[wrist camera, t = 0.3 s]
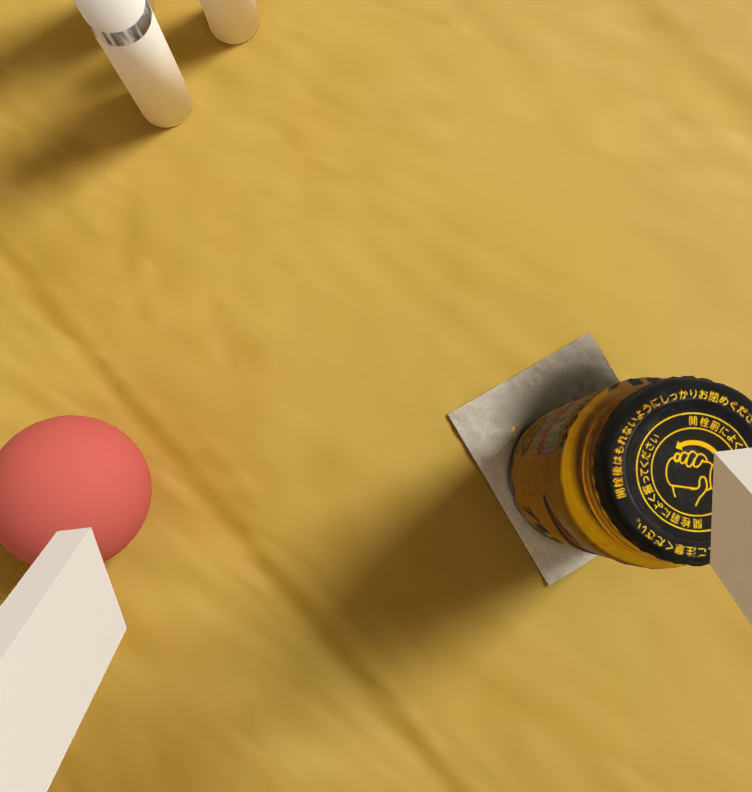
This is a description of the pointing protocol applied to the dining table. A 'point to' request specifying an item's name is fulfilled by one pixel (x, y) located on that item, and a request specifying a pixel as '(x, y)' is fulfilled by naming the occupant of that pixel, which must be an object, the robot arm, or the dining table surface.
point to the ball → (71, 485)
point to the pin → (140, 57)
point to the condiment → (604, 459)
